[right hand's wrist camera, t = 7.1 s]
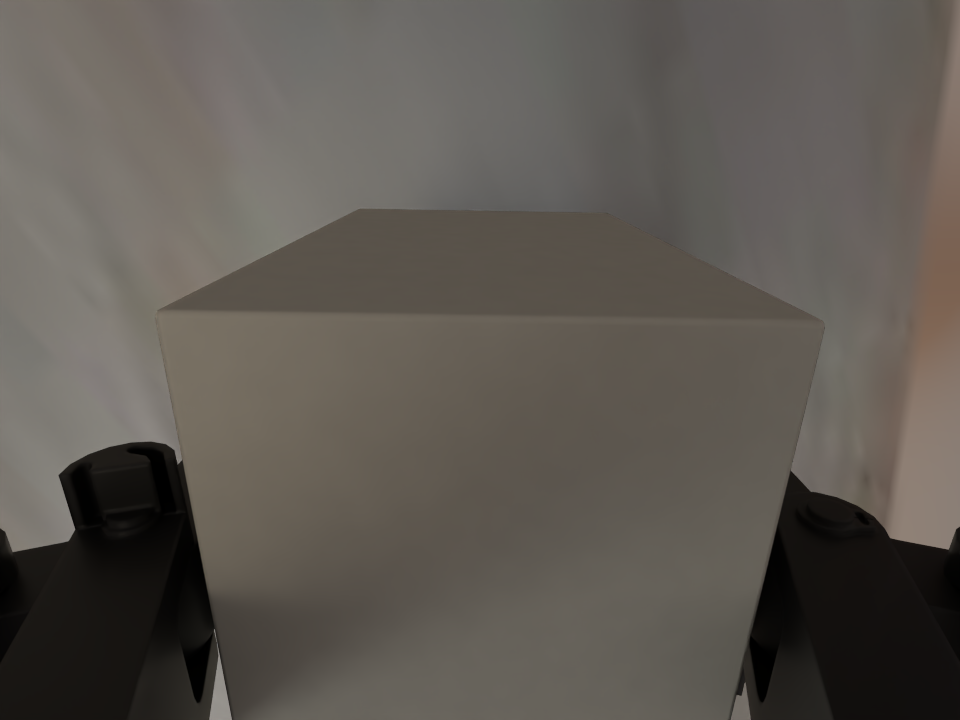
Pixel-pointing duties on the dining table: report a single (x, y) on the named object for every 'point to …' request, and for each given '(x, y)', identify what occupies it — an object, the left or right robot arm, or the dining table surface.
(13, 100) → the dining table surface
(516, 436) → the beam
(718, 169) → the dining table surface
